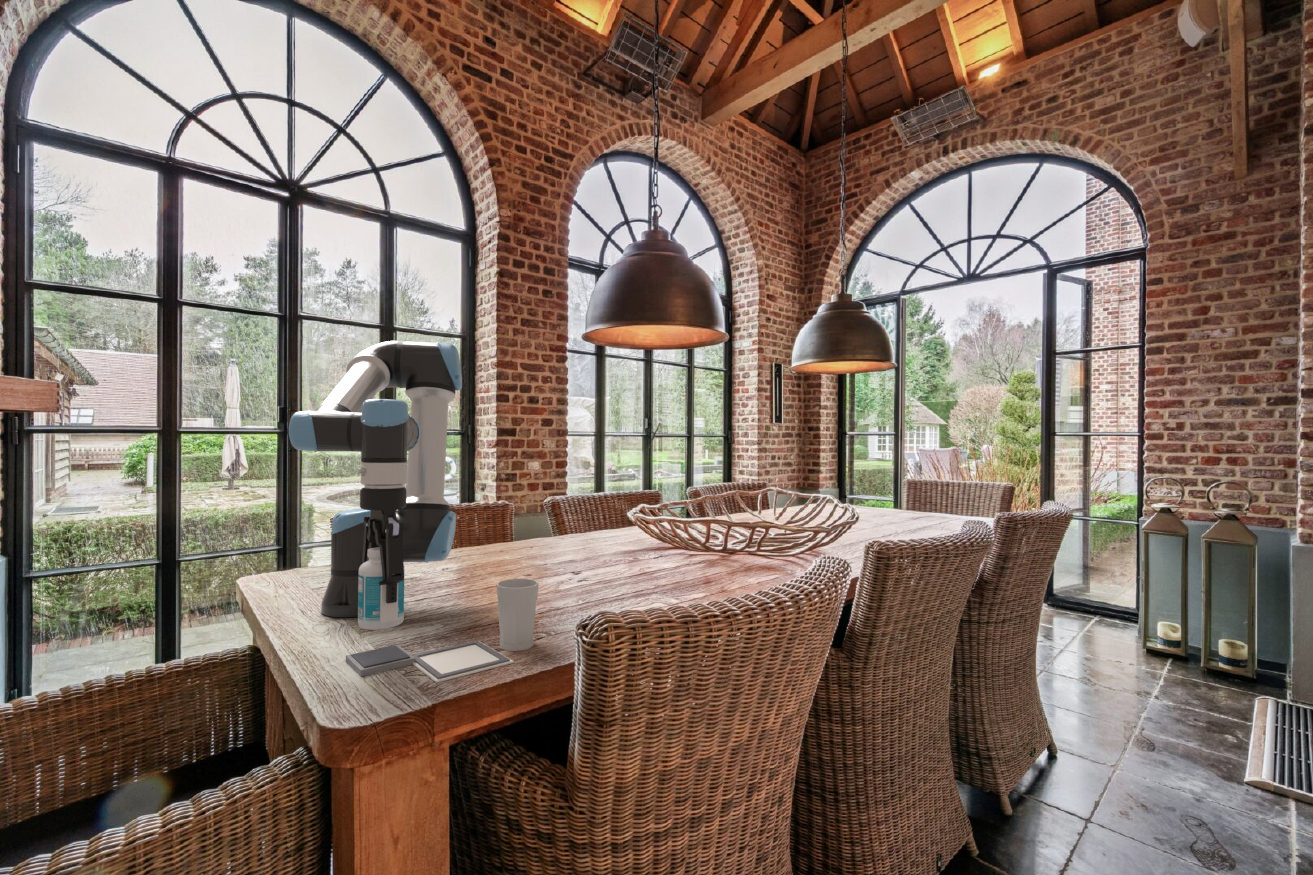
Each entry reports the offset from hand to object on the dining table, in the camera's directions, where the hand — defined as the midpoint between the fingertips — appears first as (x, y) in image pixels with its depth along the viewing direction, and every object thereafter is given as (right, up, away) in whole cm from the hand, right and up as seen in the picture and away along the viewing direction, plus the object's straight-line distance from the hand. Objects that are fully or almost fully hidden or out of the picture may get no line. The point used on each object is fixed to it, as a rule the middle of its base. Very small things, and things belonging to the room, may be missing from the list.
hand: (381, 615), depth 107 cm
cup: (+22, -9, +10) cm, 26 cm away
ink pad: (0, -8, 0) cm, 8 cm away
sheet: (+13, -9, +1) cm, 16 cm away
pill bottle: (0, -2, 0) cm, 2 cm away
